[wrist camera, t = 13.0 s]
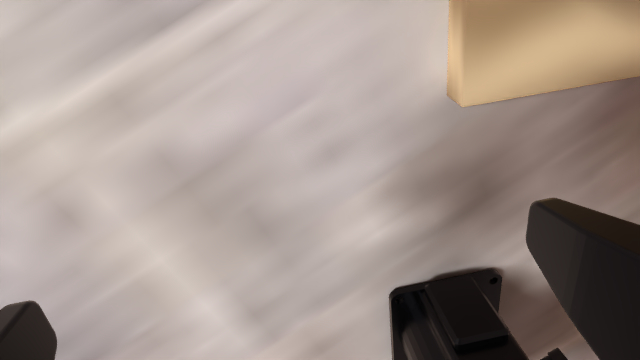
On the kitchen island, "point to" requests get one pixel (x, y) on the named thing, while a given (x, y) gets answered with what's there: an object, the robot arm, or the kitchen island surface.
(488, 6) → the plank
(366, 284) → the kitchen island surface
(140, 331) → the kitchen island surface
